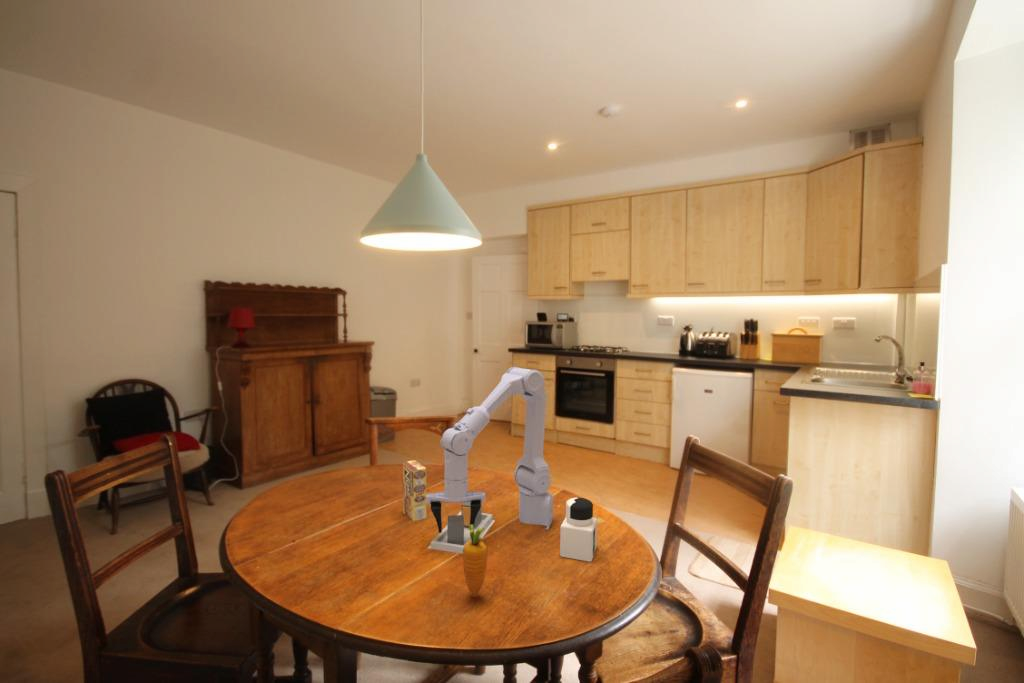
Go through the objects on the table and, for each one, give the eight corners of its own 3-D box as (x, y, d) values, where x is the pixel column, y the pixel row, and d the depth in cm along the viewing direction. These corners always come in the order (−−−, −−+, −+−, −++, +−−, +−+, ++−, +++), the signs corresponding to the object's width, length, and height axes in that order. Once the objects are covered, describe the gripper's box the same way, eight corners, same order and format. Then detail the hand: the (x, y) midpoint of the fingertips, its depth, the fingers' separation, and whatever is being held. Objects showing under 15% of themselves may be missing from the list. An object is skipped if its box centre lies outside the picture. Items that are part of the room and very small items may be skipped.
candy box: (427, 521, 131) (427, 467, 130) (413, 524, 129) (413, 470, 128) (415, 510, 139) (415, 459, 138) (401, 513, 136) (401, 461, 136)
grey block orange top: (447, 548, 114) (447, 524, 114) (447, 537, 119) (447, 514, 119) (463, 547, 115) (463, 523, 114) (463, 537, 120) (463, 514, 120)
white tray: (495, 523, 130) (495, 514, 130) (469, 558, 111) (469, 548, 111) (458, 518, 133) (458, 510, 133) (427, 552, 114) (427, 542, 114)
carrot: (462, 590, 98) (463, 520, 97) (486, 589, 99) (487, 520, 98) (462, 605, 93) (463, 531, 92) (487, 604, 94) (488, 531, 93)
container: (596, 547, 117) (597, 497, 117) (591, 562, 110) (592, 508, 109) (566, 542, 120) (567, 493, 119) (559, 557, 113) (560, 504, 112)
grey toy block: (481, 521, 130) (481, 499, 129) (474, 529, 124) (474, 507, 124) (468, 519, 131) (468, 498, 130) (460, 527, 125) (460, 505, 125)
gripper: (484, 470, 121) (483, 522, 122) (427, 472, 119) (427, 524, 120) (485, 480, 114) (485, 534, 115) (425, 482, 112) (425, 537, 113)
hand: (455, 530), depth 117 cm, fingers open, 7 cm apart
